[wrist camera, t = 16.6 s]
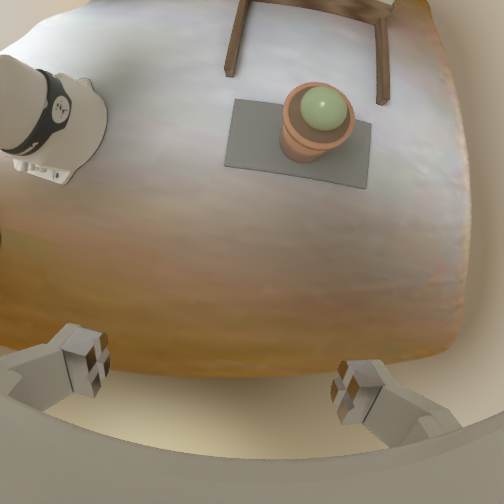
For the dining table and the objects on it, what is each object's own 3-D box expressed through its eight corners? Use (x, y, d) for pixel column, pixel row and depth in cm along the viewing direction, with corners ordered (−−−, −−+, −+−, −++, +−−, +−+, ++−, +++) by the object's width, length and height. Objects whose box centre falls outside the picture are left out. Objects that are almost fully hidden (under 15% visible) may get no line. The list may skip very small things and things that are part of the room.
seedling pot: (272, 161, 38) (283, 130, 22) (279, 113, 37) (291, 59, 21) (324, 170, 38) (365, 147, 22) (329, 122, 37) (368, 76, 21)
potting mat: (224, 166, 39) (224, 165, 38) (235, 100, 37) (235, 98, 37) (363, 189, 39) (365, 188, 38) (369, 125, 37) (371, 123, 37)
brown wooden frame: (226, 76, 37) (205, -11, 17) (244, -4, 34) (238, -86, 14) (382, 105, 37) (454, 49, 17) (379, 23, 34) (426, -43, 14)
